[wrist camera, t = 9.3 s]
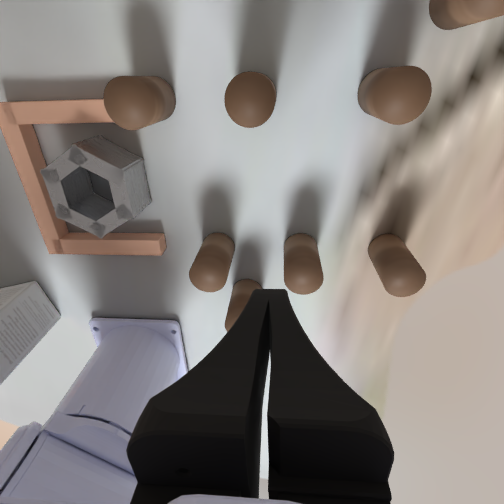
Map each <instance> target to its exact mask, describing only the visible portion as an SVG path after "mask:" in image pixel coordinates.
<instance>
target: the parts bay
mask: <svg viewBox="0 0 504 504" xmlns="http://www.w3.org/2000/svg"><path fill="white" fill-rule="evenodd" d="M101 122H114V121H113V120H112V119H111V118H110V117H109V115H108V113H107V111H106V109H105V106H104V99H82V100H49V101H15V102H0V127H1V130H2V133H3V135H4V138H5V140H6V143H7V145H8V148H9V151H10V153H11V156H12V158H13V161H14V164H15V166H16V169H17V171H18V174H19V177H20V179H21V182H22V184H23V187H24V190H25V192H26V195H27V197H28V200H29V202H30V205H31V208H32V210H33V213H34V215H35V218H36V221H37V223H38V226H39V228H40V231H41V234H42V236H43V239H44V241H45V244H46V246H47V249H48V252H49V254H94V255H162V254H163V252H164V251H165V249H166V248H167V247H166V241H165V236H164V233H108V234H107V235H106V236H104V237H103V238H100V239H99V237H98V236H96V235H94V234H92V233H69V231H68V228H67V225H66V222H65V221H64V220H62V219H59V218H57V217H56V216H55V215H56V213H55V210H54V207H53V204H52V202H51V199H50V196H49V193H48V190H47V187H46V184H45V182H44V179H43V176H42V174H41V173H40V172H41V170H40V169H43V168H45V167H47V166H46V163H45V160H44V157H43V154H42V151H41V148H40V145H39V143H38V140H37V137H36V134H35V131H34V128H33V125H32V124H58V123H101Z"/></svg>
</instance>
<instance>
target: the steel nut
mask: <svg viewBox="0 0 504 504" xmlns="http://www.w3.org/2000/svg"><path fill="white" fill-rule="evenodd" d="M143 161H144V159H143V158H142V157H138V156H137V155H135V154H133V153H131V152H129V151H127V150H125V149H123V148H121V147H120V146H118V145H116V144H114V143H112V142H110V141H108V140H106V139H105V138H103V136H96V137H93V138H90V139H86V140H83V141H80V142H77V143H74V144H72V146H71V148H70V149H68V150H67V151H66V152H65V153H63V154H62V155H61V156H60V157H58V158H57V159H56V160H54V161H53V162H52V163H51V164H49V165H48V166H47V167H45V168H43V169H40V170H41V172H40V173H41V174H42V176H43V179H44V182H45V184H46V187H47V190H48V193H49V196H50V199H51V202H52V204H53V207H54V210H55V213H56V215H55V216H56V217H57V218H59V219H62V220H64V221H66V222H69V223H71V224H73V225H75V226H77V227H79V228H81V229H83V230H85V231H87V232H89V233H92V234H94V235H96V236H98V237H99V239H100V238H103V237H104V236H106V235H107V234H108V233H109V232H111V231H112V230H114V229H115V228H117V227H119V226H120V225H122V224H123V223H125V222H126V221H128V220H130V219H134V218H135V217H136V216H137V215H138V214H139V213H140V212H141V211H142V210H143V209H144V208H145V207H146V206H147V205H148V204H150V203H151V198H150V195H149V189H148V184H147V179H146V174H145V169H144V163H143ZM88 170H89V171H91V172H93V173H95V174H97V175H99V176H101V177H102V178H104V179H106V180H108V181H109V185H110V189H111V193H112V197H113V201H114V203H113V202H111V201H109V200H107V199H105V198H103V197H101V196H99V195H97V194H95V193H94V191H93V187H92V184H91V180H90V177H89V173H88Z"/></svg>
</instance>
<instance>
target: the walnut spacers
mask: <svg viewBox="0 0 504 504" xmlns="http://www.w3.org/2000/svg"><path fill="white" fill-rule="evenodd" d="M429 12H430V17H431V19H432V21H433V23H434V24H435V25H436V26H437V27H439V28H441V29H444V30H452V29H456V28H459V27H463V26H466V25H470V24H474V23H477V22H481V21H484V20H488V19H492V18H495V17H499V16H502V15H504V0H430V5H429ZM431 89H432V88H431V82H430V79H429V77H428V75H427V74H426V72H425V71H423V70H422V69H420V68H418V67H415V66H400V67H389V68H379V69H376V70H374V71H372V72H370V73H369V74H368V75H367V76H366V77H365V78H364V79H363V81H362V82H361V84H360V86H359V89H358V103H359V105H360V107H361V109H362V110H363V111H364V112H366V113H367V114H369V115H372V116H374V117H376V118H378V119H381V120H383V121H385V122H388V123H390V124H395V125H400V124H405V123H408V122H410V121H412V120H414V119H416V118H417V117H418V116H419V115H420V114H421V113H422V112H423V111H424V110H425V108H426V106H427V105H428V103H429V100H430V97H431ZM103 99H104V106H105V109H106V111H107V113H108V115H109V117H110V118H111V119H112V120H113V121H114V122H115V123H116V124H117V125H118V126H120V127H122V128H124V129H127V130H137V129H141V128H143V127H146V126H149V125H151V124H154V123H157V122H160V121H162V120H165V119H167V118H169V117H170V116H171V115H172V113H173V112H174V109H175V105H176V99H175V94H174V91H173V89H172V88H171V86H170V85H169V84H168V83H167V82H166V81H165V80H163V79H162V78H159V77H156V76H119V77H116V78H114V79H112V80H111V81H110V82H109V83H108V84H107V86H106V88H105V90H104V97H103ZM275 102H276V89H275V86H274V84H273V82H272V81H271V79H270V78H269V77H267V76H266V75H264V74H262V73H257V72H243V73H241V74H238V75H237V76H235V77H234V78H233V79H232V80H231V81H230V83H229V84H228V86H227V89H226V92H225V107H226V110H227V113H228V114H229V116H230V118H231V119H232V120H233V121H234V122H235V123H237V124H238V125H240V126H243V127H247V128H253V127H257V126H260V125H262V124H263V123H265V122H266V121H267V120H268V119H269V117H270V116H271V114H272V112H273V110H274V106H275ZM234 251H235V245H234V242H233V241H232V239H231V238H230V237H229V236H227V235H226V234H223V233H212V234H209V235H208V236H207V237H206V238H205V239H204V241H203V243H202V245H201V248H200V250H199V252H198V254H197V256H196V258H195V260H194V262H193V264H192V266H191V269H190V271H189V277H190V280H191V282H192V284H193V285H194V286H195V287H196V288H198V289H199V290H202V291H205V292H215V291H218V290H220V289H222V288H223V287H224V285H225V283H226V280H227V277H228V273H229V269H230V266H231V262H232V258H233V255H234ZM368 254H369V257H370V259H371V261H372V263H373V265H374V267H375V269H376V271H377V273H378V275H379V277H380V279H381V281H382V283H383V285H384V287H385V289H386V291H387V292H388V293H389V294H391V295H393V296H397V297H406V296H410V295H413V294H415V293H416V292H418V291H419V290H420V289H421V288H422V287H423V286H424V284H425V281H426V274H425V272H424V270H423V269H422V267H421V266H420V265H419V263H418V262H417V260H416V259H415V258H414V256H413V255H412V254H411V252H410V251H409V250H408V248H407V247H406V245H405V244H404V243H403V241H402V240H401V239H400V238H399V237H398V236H396V235H393V234H383V235H380V236H378V237H376V238H375V239H374V240H373V241H372V242H371V243H370V245H369V248H368ZM284 282H285V285H286V286H287V288H288V289H289V290H291V291H292V292H294V293H297V294H310V293H313V292H315V291H316V290H318V289H319V288H320V286H321V285H322V283H323V272H322V267H321V262H320V257H319V253H318V248H317V244H316V241H315V240H314V238H313V237H311V236H310V235H308V234H304V233H298V234H294V235H292V236H290V237H289V238H288V239H287V240H286V242H285V244H284ZM255 289H262V288H261V286H260V285H259V284H258V283H257V282H256V281H253V280H250V279H243V280H240V281H238V282H237V283H236V284H235V285H234V287H233V290H232V295H231V299H230V303H229V307H228V312H227V316H226V320H225V328H226V330H227V332H228V331H229V330H230V328H231V327H232V326H233V324H234V323H235V321H236V320H237V318H238V317H239V315H240V314H241V312H242V311H243V309H244V307H245V306H246V304H247V302H248V300H249V298H250V296H251V294H252V292H253V290H255Z"/></svg>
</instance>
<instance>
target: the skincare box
mask: <svg viewBox="0 0 504 504" xmlns="http://www.w3.org/2000/svg"><path fill="white" fill-rule="evenodd" d="M59 319H60V314H59V312H58V311H57V310H56V308H55V307H54V306H53V304H52V303H51V301H50V300H49V299H48V297H47V296H46V294H45V293H44V291H43V290H42V288H41V287H40V286H39V284H38V283H37V282H36V281H32V282H28V283H23V284H18V285H14V286H9V287H5V288H0V385H1V384H2V383H3V381H4V380H5V379H6V378H7V377H8V376H9V375H10V374H11V373H12V372H13V370H14V369H15V368H16V367H17V366H18V365H19V364H20V363H21V362H22V360H23V359H24V358H25V357H26V356H27V355H28V354H29V353H30V351H31V350H32V349H33V348H34V347H35V346H36V345H37V344H38V342H39V341H40V340H41V339H42V338H43V337H44V336H45V335H46V334H47V332H48V331H49V330H50V329H51V328H52V327H53V326H54V325H55V323H56V322H57V321H58V320H59Z"/></svg>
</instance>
